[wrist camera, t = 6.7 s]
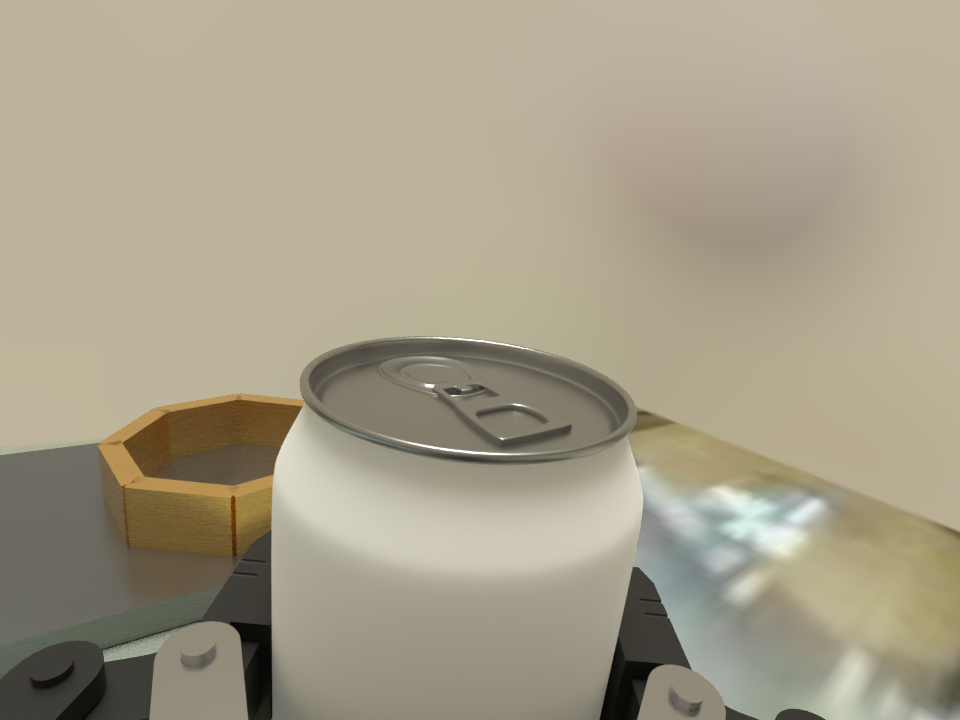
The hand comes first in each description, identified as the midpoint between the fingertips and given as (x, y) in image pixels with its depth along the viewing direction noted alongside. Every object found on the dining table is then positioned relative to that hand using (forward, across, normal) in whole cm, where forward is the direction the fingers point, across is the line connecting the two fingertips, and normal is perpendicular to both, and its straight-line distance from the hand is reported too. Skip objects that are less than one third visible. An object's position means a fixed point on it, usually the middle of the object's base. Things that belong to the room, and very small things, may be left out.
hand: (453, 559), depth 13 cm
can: (-2, 0, +7) cm, 7 cm away
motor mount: (+11, +10, +6) cm, 16 cm away
